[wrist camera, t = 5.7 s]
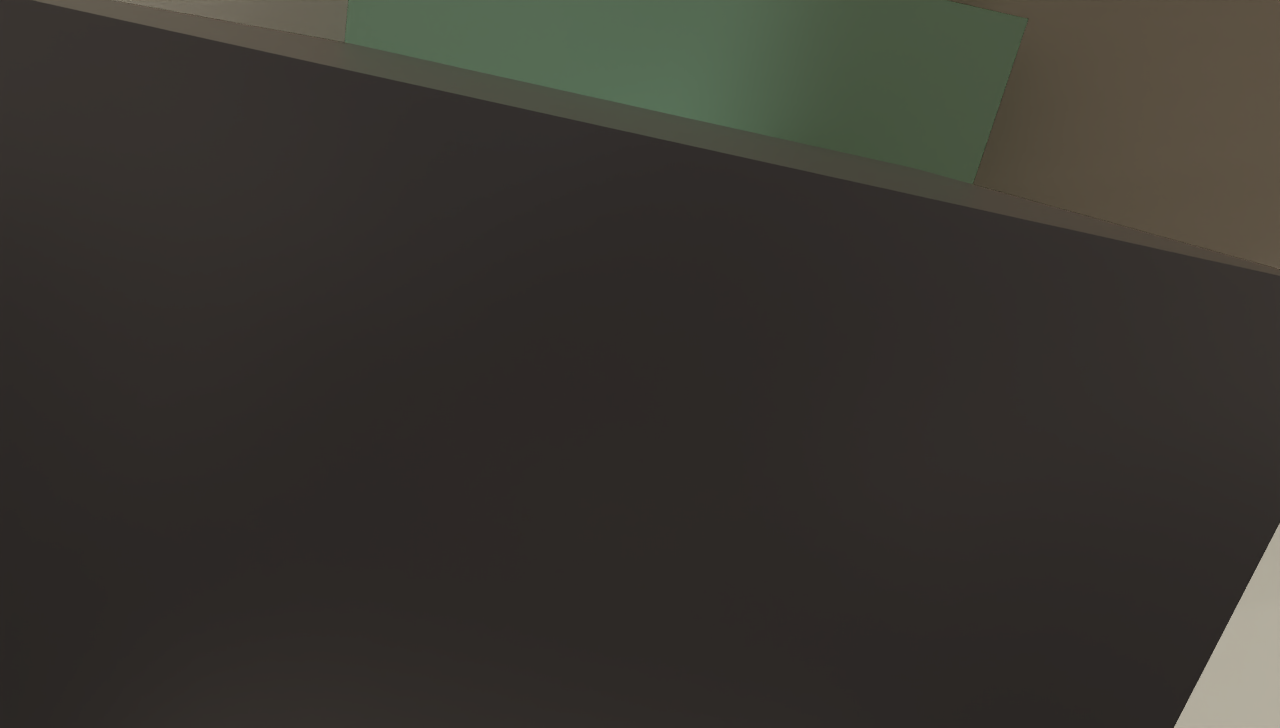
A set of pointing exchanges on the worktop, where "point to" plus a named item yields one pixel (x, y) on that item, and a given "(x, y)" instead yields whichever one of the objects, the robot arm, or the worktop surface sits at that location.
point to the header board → (742, 63)
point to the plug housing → (581, 411)
